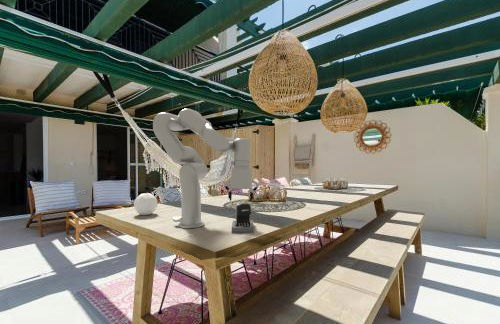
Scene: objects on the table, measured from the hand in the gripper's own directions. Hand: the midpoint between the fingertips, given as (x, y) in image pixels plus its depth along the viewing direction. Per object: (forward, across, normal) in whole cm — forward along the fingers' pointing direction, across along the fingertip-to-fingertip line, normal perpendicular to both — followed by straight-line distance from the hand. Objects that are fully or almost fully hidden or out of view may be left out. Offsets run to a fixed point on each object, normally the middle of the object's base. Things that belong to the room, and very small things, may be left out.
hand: (240, 200), depth 124 cm
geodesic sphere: (+17, -57, +34) cm, 69 cm away
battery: (+13, +2, 0) cm, 13 cm away
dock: (+14, +2, 0) cm, 14 cm away
